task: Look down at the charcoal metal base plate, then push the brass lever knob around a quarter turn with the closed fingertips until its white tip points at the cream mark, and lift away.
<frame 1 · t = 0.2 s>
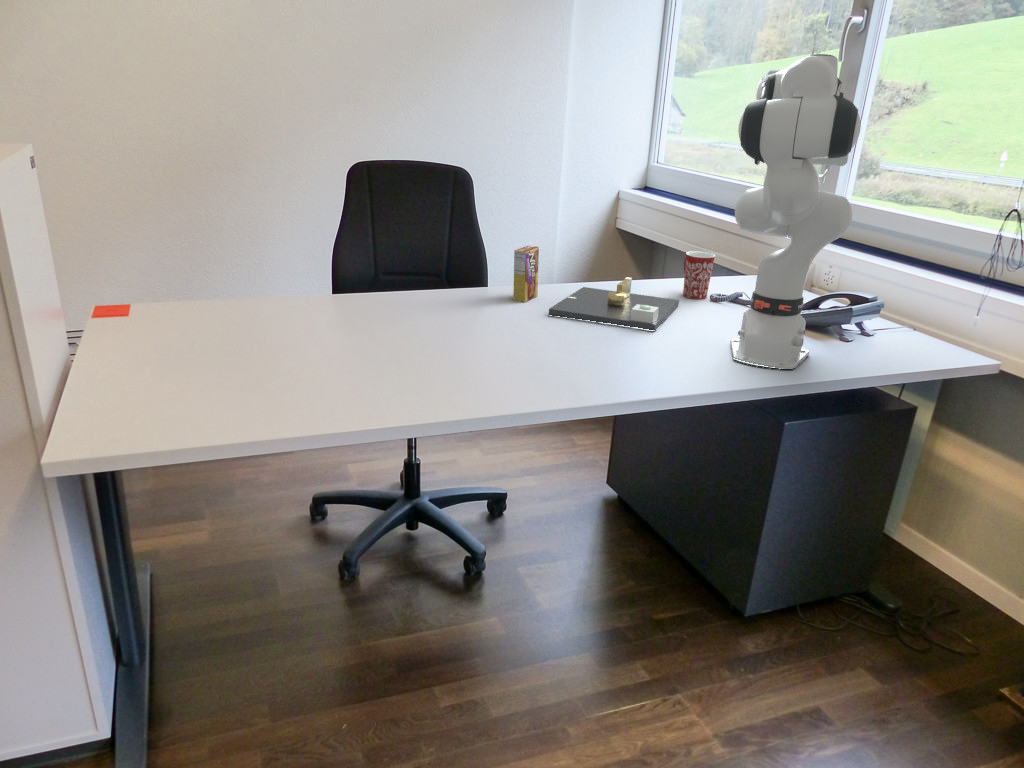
hand: (801, 181, 191), 39 cm above the table, tool pointing down, fingers open, 8 cm apart
brass lever knob: (621, 291, 217), point 5 cm above the table, hinge at 0.0°
base plate: (615, 310, 214), on the table
mug: (692, 295, 236), on the table
candy box: (525, 299, 224), on the table
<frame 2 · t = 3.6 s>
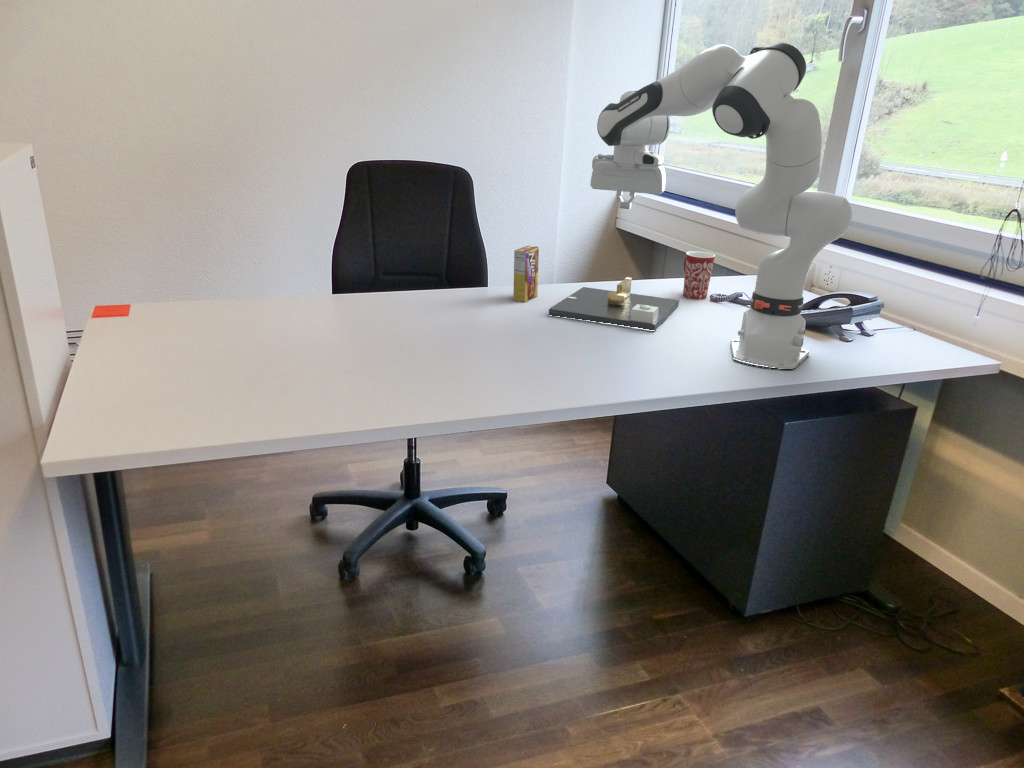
hand: (625, 208, 204), 29 cm above the table, tool pointing down, fingers closed
nothing on the table moved.
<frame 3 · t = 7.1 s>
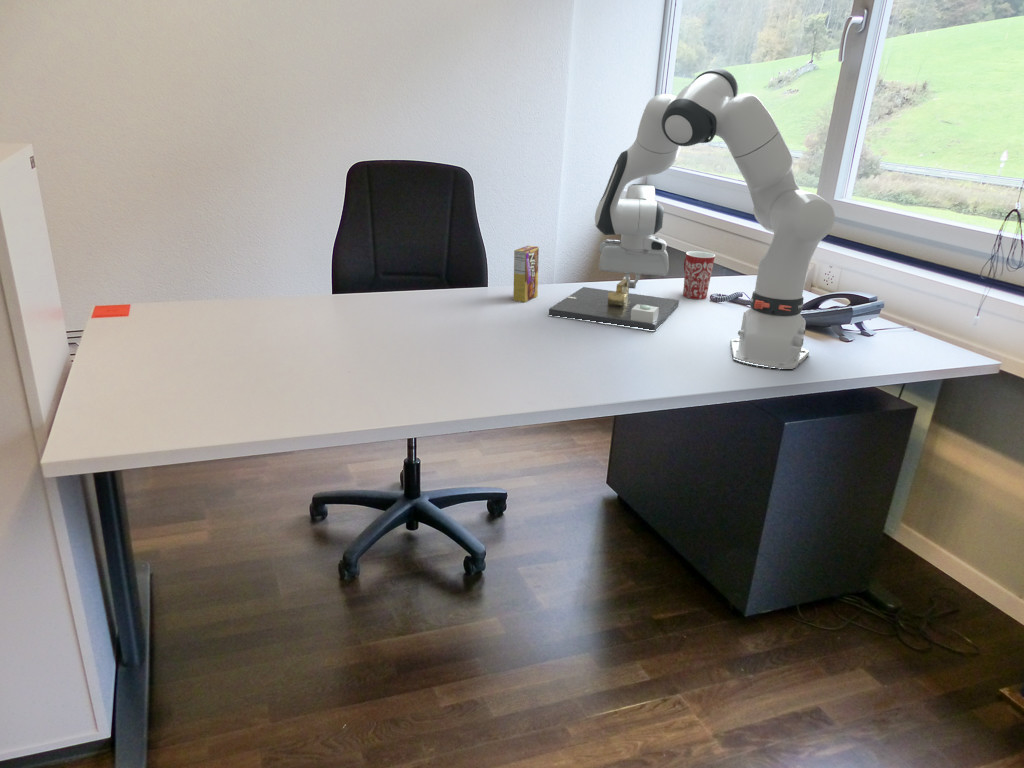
hand: (631, 287, 219), 5 cm above the table, tool pointing down, fingers closed
brass lever knob: (621, 291, 217), point 5 cm above the table, hinge at 2.6°, touching gripper
everything else where it was.
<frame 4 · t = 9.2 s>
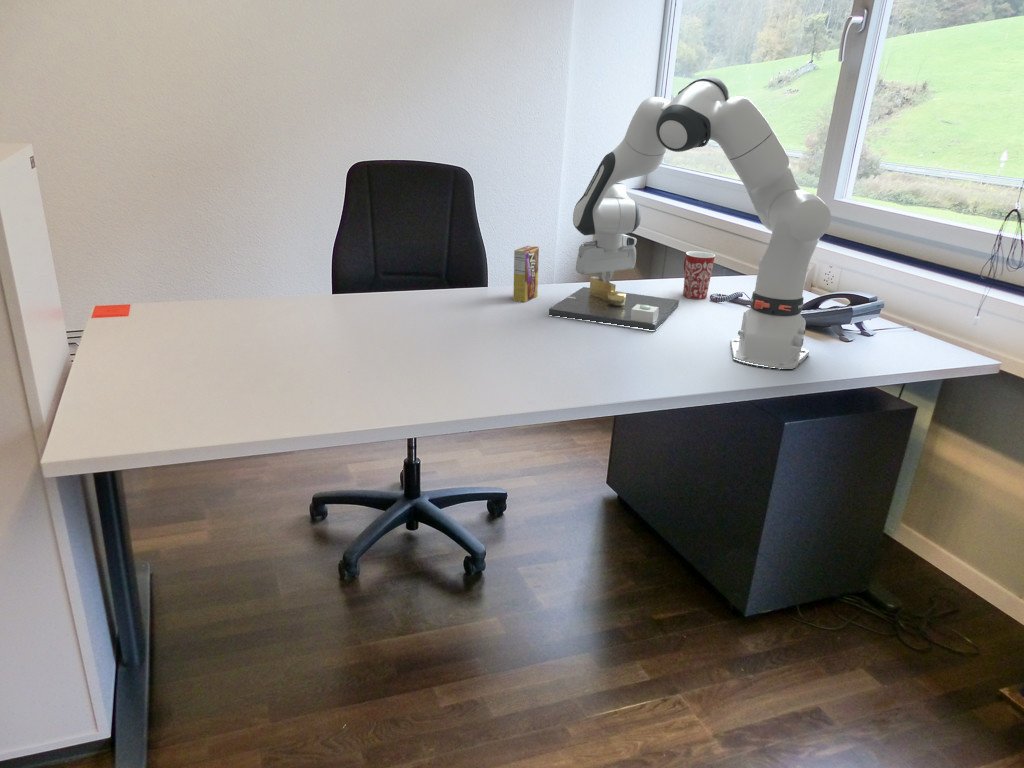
hand: (604, 286, 220), 5 cm above the table, tool pointing down, fingers closed
brass lever knob: (606, 290, 216), point 5 cm above the table, hinge at 54.7°, touching gripper
everything else where it was.
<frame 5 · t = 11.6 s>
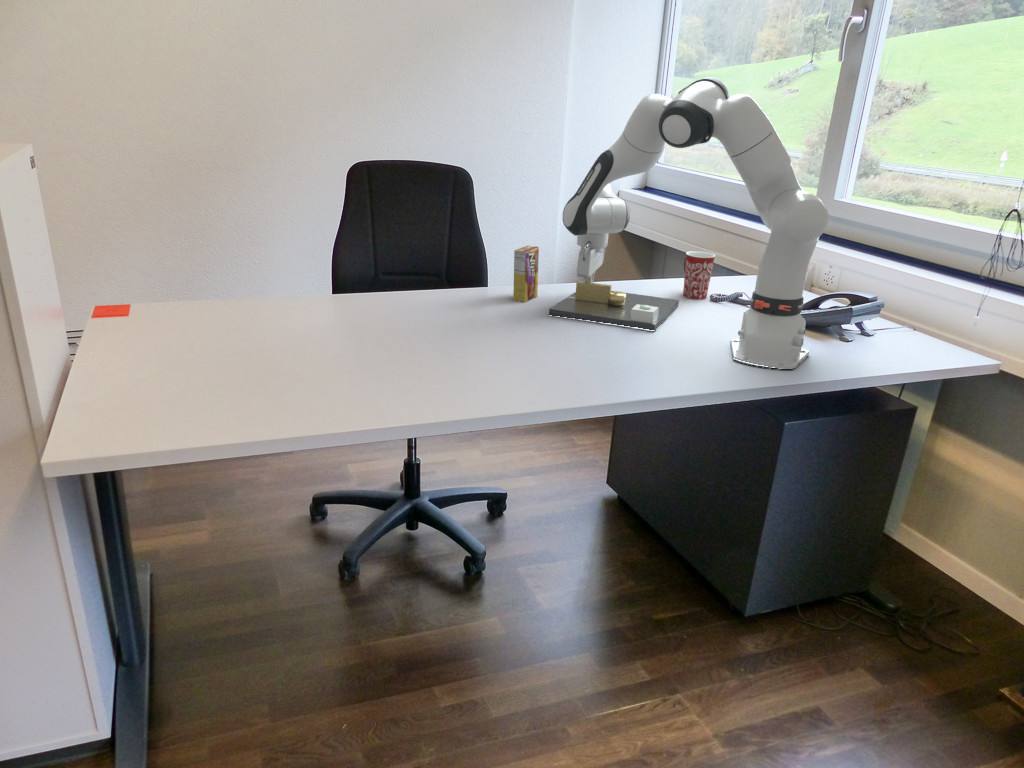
hand: (588, 286, 219), 5 cm above the table, tool pointing down, fingers closed
brass lever knob: (600, 292, 214), point 5 cm above the table, hinge at 94.5°
everything else where it was.
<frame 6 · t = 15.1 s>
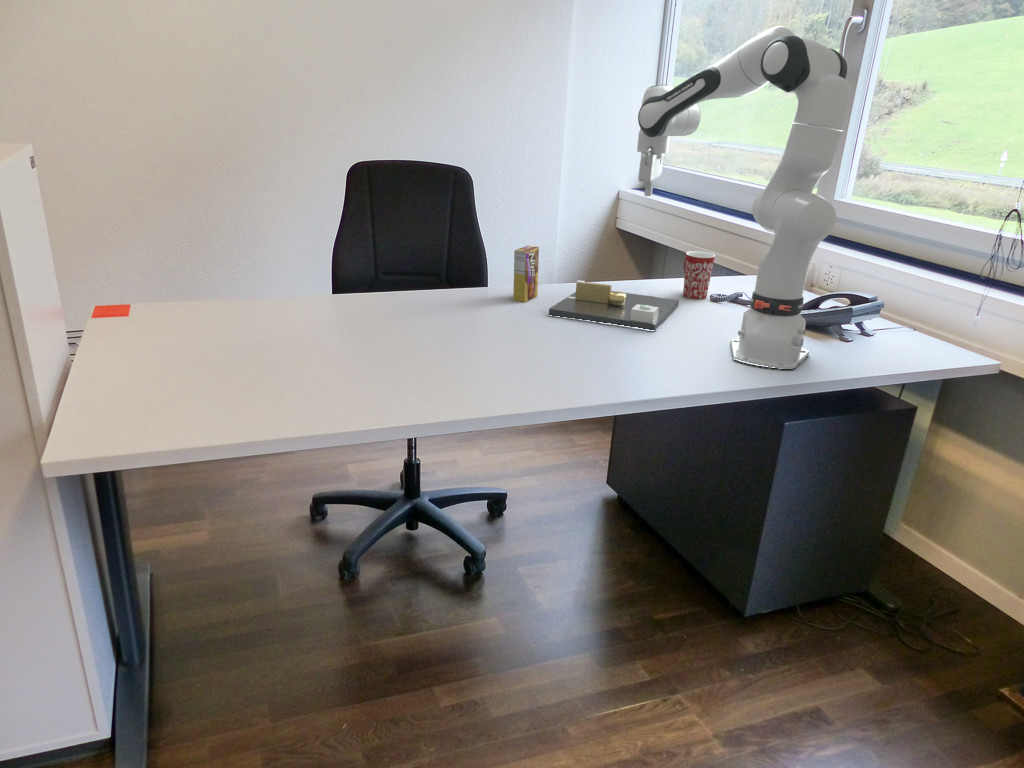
hand: (647, 195, 217), 31 cm above the table, tool pointing down, fingers closed
nothing on the table moved.
at the end: brass lever knob at +94° (first picture: +0°); the gripper is holding nothing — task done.
